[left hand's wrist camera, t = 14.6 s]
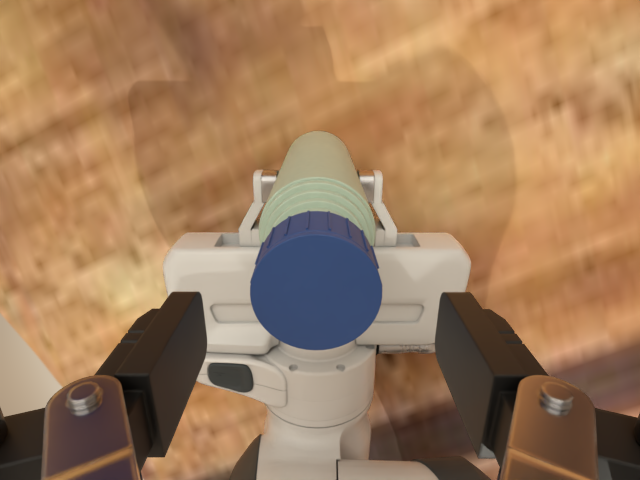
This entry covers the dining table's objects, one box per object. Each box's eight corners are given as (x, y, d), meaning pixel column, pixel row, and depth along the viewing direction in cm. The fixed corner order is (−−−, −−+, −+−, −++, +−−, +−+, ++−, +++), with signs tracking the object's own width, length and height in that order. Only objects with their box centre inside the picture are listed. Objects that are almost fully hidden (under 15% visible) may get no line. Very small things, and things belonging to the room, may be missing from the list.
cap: (391, 227, 14) (404, 253, 12) (354, 325, 16) (359, 364, 14) (274, 194, 14) (266, 216, 12) (247, 299, 16) (236, 335, 13)
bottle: (359, 141, 31) (419, 240, 13) (339, 203, 33) (365, 369, 14) (295, 122, 31) (256, 194, 12) (278, 186, 33) (222, 335, 14)
